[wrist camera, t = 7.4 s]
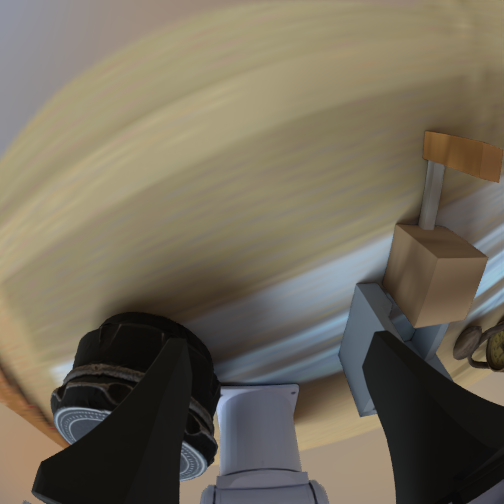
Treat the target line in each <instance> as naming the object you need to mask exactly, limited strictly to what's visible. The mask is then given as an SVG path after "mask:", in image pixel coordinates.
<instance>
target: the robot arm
mask: <svg viewBox="0 0 504 504" xmlns="http://www.w3.org/2000/svg"><path fill="white" fill-rule="evenodd" d="M362 370H363V374H364V378H365V382H366V385H367V389H368V391H369V394H370V397H371V399H372V402H373V404H374V407H375V409H376V412H377V414H378V417H379V419H380V422H381V424H382V427H383V429H384V432H385V435H386V438H387V443H388V447H389V451H390V456H391V461H392V467H393V473H394V481H395V490H396V504H504V406H501V405H498V404H495V403H493V402H490V401H488V400H486V399H483V398H481V397H479V396H477V395H475V394H473V393H471V392H469V391H468V390H466V389H464V388H462V387H461V386H459V385H458V384H456V383H454V382H453V381H451V380H450V379H448V378H447V377H445V376H444V375H443V374H441V373H440V372H438V371H437V370H436V369H434V368H433V367H432V366H431V365H429V364H428V363H427V362H426V361H424V360H423V359H422V358H421V357H419V356H418V355H417V354H416V353H415V352H413V351H412V350H411V349H410V348H409V347H408V346H406V345H405V344H404V343H403V342H402V341H400V340H399V339H398V338H397V337H396V336H394V335H393V334H392V333H391V332H389V331H388V330H384V331H376V332H374V334H373V337H372V340H371V343H370V346H369V349H368V352H367V354H366V357H365V360H364V362H363V365H362ZM191 390H192V369H191V364H190V358H189V353H188V347H187V341H186V339H181V338H170V339H168V340H167V342H166V344H165V345H164V347H163V348H162V350H161V351H160V353H159V354H158V356H157V357H156V359H155V360H154V362H153V363H152V365H151V366H150V367H149V369H148V370H147V371H146V373H145V374H144V376H143V377H142V378H141V380H140V381H139V382H138V383H137V384H136V386H135V387H134V388H133V389H132V390H131V392H130V393H129V394H128V395H127V396H126V398H125V399H124V400H123V401H122V402H121V403H120V404H119V405H118V406H117V407H116V408H115V409H114V410H113V411H112V412H111V413H110V414H109V415H108V416H107V417H106V418H105V419H104V420H103V421H101V422H100V423H99V424H98V425H97V426H96V427H95V428H93V429H92V430H91V431H90V432H88V433H87V434H86V435H84V436H83V437H81V438H80V439H79V440H77V441H76V442H74V443H73V444H72V445H70V446H69V447H67V448H65V449H64V450H62V451H60V452H58V453H57V454H55V455H53V456H51V457H49V458H48V459H46V460H44V461H42V462H41V464H40V466H39V468H38V471H37V474H36V477H35V481H34V484H33V488H32V491H31V492H32V494H33V495H34V496H35V497H37V498H38V499H39V500H41V501H43V502H44V503H46V504H179V487H180V461H181V450H182V443H183V438H184V432H185V427H186V421H187V416H188V411H189V405H190V400H191ZM298 393H299V386H298V385H297V384H289V385H270V386H221V398H220V399H219V402H218V405H217V414H218V421H219V428H220V471H219V476H217V482H216V485H208V487H207V488H206V489H204V490H203V492H202V495H201V501H200V504H329V501H328V497H327V494H326V491H325V489H324V487H323V486H322V485H320V484H319V483H318V482H317V481H316V480H308V474H307V472H302V469H301V462H300V456H299V450H298V444H297V438H296V432H295V426H294V420H293V414H294V410H295V406H296V401H297V397H298ZM23 504H31V503H29V502H27V501H26V500H25V501H23Z"/></svg>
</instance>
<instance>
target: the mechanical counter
mask: <svg viewBox="0 0 504 504" xmlns="http://www.w3.org/2000/svg"><path fill="white" fill-rule="evenodd" d="M488 338H489V339H488ZM487 339H488V343H487V347H486V359H487V362H478V361H474V360H473V359H472V358H471V357H472V354H473V353H474V351H475V350H476V349H477V348H478V347H479V346H480V345H481V344H482V343H483V342H484V341H485V340H487ZM453 356H454V358H455V359H457V360H461V359H464V358H466V357H467V358H468V362H469V364H470V365H471V366H472V367H475V368H484V369H491V370H492V371H494V372H504V321H502V322H500V323H499V324H497V325H496V326H494V327H492V328H490V329H488V330H486V331H485V332H484V333H482V328H481V327H479V326H473V327H470V328H468V329H466V330H465V331H464V332H463V333H462V334H461V336H460V337H459V338H458V340H457V342H456V345H455V347H454V351H453Z"/></svg>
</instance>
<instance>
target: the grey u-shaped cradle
mask: <svg viewBox="0 0 504 504" xmlns="http://www.w3.org/2000/svg"><path fill="white" fill-rule="evenodd" d="M392 306H393V305H392V303H391V302H390V300H389V299H388V298H387V296H386V295H385V294H384V292H383V291H382V289H381V288H380V287H379V285H378V284H377V283H366V284H356V287H355V292H354V296H353V300H352V305H351V309H350V313H349V317H348V321H347V325H346V329H345V332H344V336H343V340H342V343H341V347H340V350H339V354H338V356H339V359H340V362H341V365H342V367H343V370H344V373H345V376H346V378H347V381H348V384H349V387H350V389H351V392H352V395H353V398H354V401H355V404H356V407H357V409H358V412H359V415H360V417H364V416H369V415H373V414H377V412H376V409H375V407H374V404H373V402H372V399H371V397H370V394H369V391H368V389H367V385H366V382H365V378H364V374H363V370H362V365H363V362H364V360H365V357H366V354H367V352H368V349H369V346H370V343H371V340H372V337H373V334H374V332H376V331H384V330H388V331H389V332H391V333H392V334H393V335H394V336H396V337H397V338H398V339H399V340H400V341H402V342H403V340H402V338H401V337H400V335H399V334H398V332H397V330H396V329H395V327H394V326H393V324H392V323H391V321H390V319H389V315H390V312H391V309H392ZM449 323H450V322H449ZM449 323H443V324H438V325H432V326H426V327H419V328H416V330H415V333H414V335H413V338H412V340H411V341H405V342H403V343H404V344H405V345H406V346H408V347H409V348H410V349H411V350H412V351H413V352H415V353H416V354H417V355H418V356H419V357H421V358H422V359H423V360H424V361H426V362H427V363H428V364H429V365H431V366H432V367H433V368H434V369H436V370H437V371H438V372H440V373H441V374H443V375H444V376H445V377H447V378H448V379H450V380H451V381H453V380H452V378H451V377H450V375H449V373H448V372H447V370H446V369H445V367H444V366H443V364H442V363H441V361H440V360H439V358H438V357H437V355H436V354H435V353H436V351H437V349H438V347H439V345H440V343H441V341H442V338H443V336H444V334H445V332H446V330H447V328H448V326H449ZM453 382H454V381H453Z"/></svg>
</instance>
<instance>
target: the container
mask: <svg viewBox="0 0 504 504" xmlns="http://www.w3.org/2000/svg"><path fill="white" fill-rule="evenodd" d="M170 338H181V339H186V341H187V347H188V353H189V358H190V364H191V369H192V390H191V400H190V405H189V411H188V416H187V421H186V427H185V432H184V438H183V443H182V450H181V461H180V481H186V480H190V479H193V478H195V477H198V476H200V475H202V474H203V473H204V472H205V471H206V469H207V467H209V466H210V465H211V464H212V463H213V462H214V456H215V455H216V453H217V449H218V445H217V442H216V440H215V439H214V424H213V420H214V419H213V416H214V414H215V411H216V408H217V405H218V402H219V399H220V398H221V383H220V382H219V381H218V380H217V376H216V375H215V374H214V369H213V363H212V360H211V356H210V353H209V351H208V350H207V348H206V346H205V345H204V344H203V343H202V341H201V340H200V339H199V338H197V337H196V336H195V335H194V334H193V333H192V332H191V331H189V330H188V329H186V328H185V327H184V326H182V325H180V324H178V323H176V322H174V321H172V320H170V319H167V318H165V317H161V316H157V315H152V314H147V313H140V312H126V313H122V314H118V315H115V316H112V317H111V318H109V319H107V320H106V321H105V322H104V323H103V324H102V325H101V326H100V327H99V329H96V330H94V331H91V332H88V333H87V334H86V335H85V336H84V337H83V338H82V339H81V340H80V342H79V345H78V349H77V353H76V355H75V361H74V364H73V368H72V370H71V371H70V372H69V373H68V374H67V376H66V377H65V379H64V380H63V382H64V383H63V385H62V386H61V387H59V388H57V389H55V390H54V391H53V393H52V395H51V409H52V413H53V416H54V423H55V426H56V428H57V429H58V431H59V432H60V434H61V435H62V436H63V438H64V439H65V440H66V441H67V442H69V443H70V444H71V445H72V444H73V443H74V442H76V441H77V440H79V439H80V438H81V437H83V436H84V435H86V434H87V433H88V432H90V431H91V430H92V429H93V428H95V427H96V426H97V425H98V424H99V423H100V422H101V421H103V420H104V419H105V418H106V417H107V416H108V415H109V414H110V413H111V412H112V411H113V410H114V409H115V408H116V407H117V406H118V405H119V404H120V403H121V402H122V401H123V400H124V399H125V398H126V396H127V395H128V394H129V393H130V392H131V390H132V389H133V388H134V387H135V386H136V384H137V383H138V382H139V381H140V380H141V378H142V377H143V376H144V374H145V373H146V371H147V370H148V369H149V367H150V366H151V365H152V363H153V362H154V360H155V359H156V357H157V356H158V354H159V353H160V351H161V350H162V348H163V347H164V345H165V344H166V342H167V340H168V339H170Z"/></svg>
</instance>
